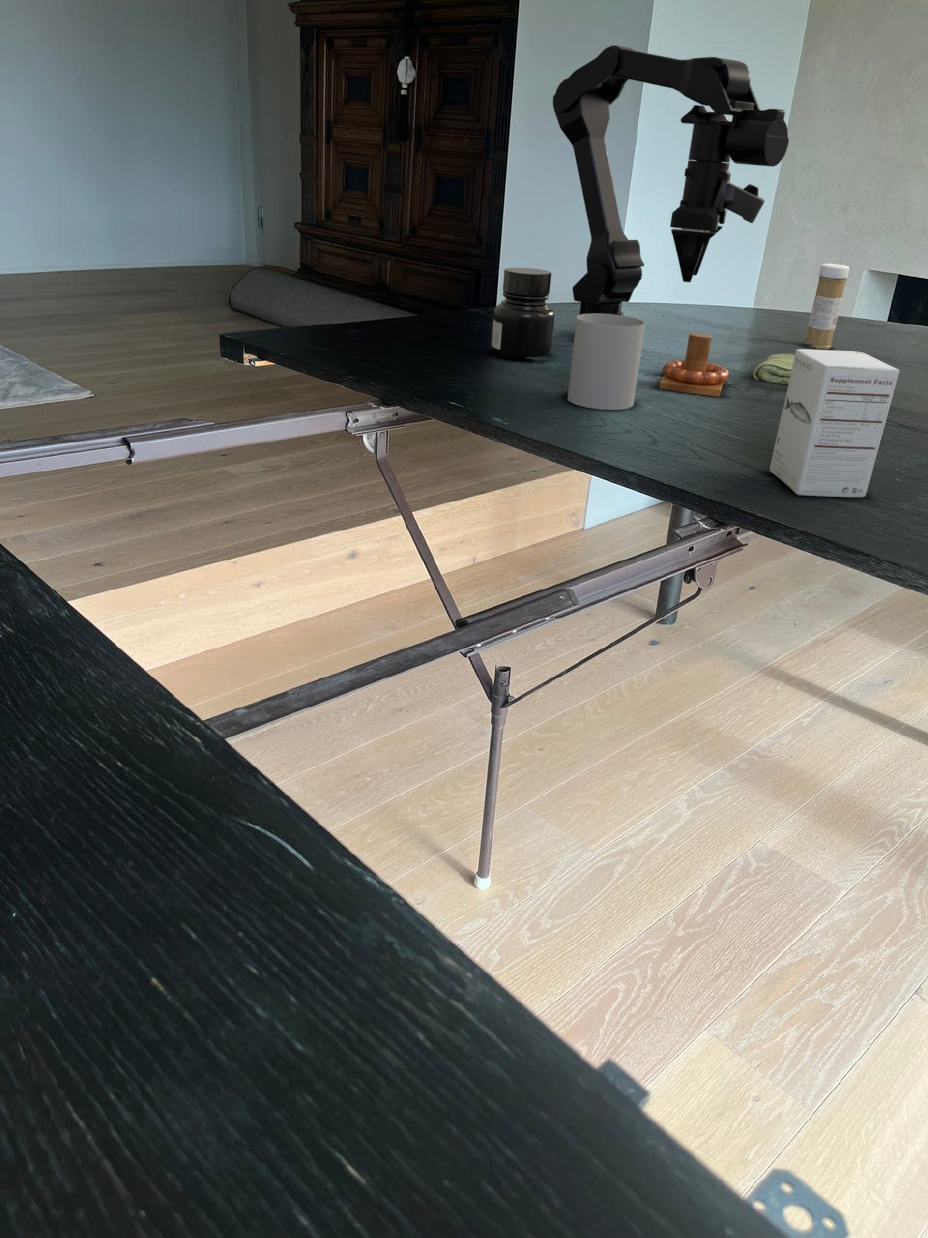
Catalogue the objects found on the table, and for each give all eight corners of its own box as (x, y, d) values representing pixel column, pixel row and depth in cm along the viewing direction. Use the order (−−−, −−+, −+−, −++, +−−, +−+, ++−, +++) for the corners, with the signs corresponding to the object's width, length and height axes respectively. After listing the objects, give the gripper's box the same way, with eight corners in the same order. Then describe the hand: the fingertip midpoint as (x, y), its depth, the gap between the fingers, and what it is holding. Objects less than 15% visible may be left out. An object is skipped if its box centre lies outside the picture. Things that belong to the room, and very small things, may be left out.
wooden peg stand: (659, 389, 129) (667, 335, 126) (666, 377, 136) (674, 326, 133) (719, 397, 127) (729, 343, 124) (723, 384, 134) (733, 333, 131)
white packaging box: (766, 471, 99) (793, 347, 93) (835, 474, 99) (866, 350, 94) (794, 496, 92) (825, 364, 86) (867, 498, 93) (903, 367, 87)
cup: (638, 398, 123) (650, 318, 119) (627, 413, 116) (639, 329, 112) (575, 389, 126) (584, 310, 121) (560, 403, 119) (569, 320, 114)
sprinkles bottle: (812, 343, 167) (831, 262, 161) (836, 349, 164) (855, 266, 158) (797, 346, 164) (815, 263, 158) (821, 351, 161) (840, 267, 155)
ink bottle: (506, 346, 148) (513, 264, 143) (559, 354, 145) (568, 271, 140) (480, 356, 141) (486, 270, 135) (535, 365, 137) (543, 277, 132)
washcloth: (881, 406, 128) (887, 382, 127) (748, 385, 134) (753, 361, 133) (888, 387, 139) (894, 365, 137) (765, 368, 145) (769, 347, 144)
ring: (658, 380, 129) (660, 368, 129) (666, 367, 137) (668, 356, 136) (724, 388, 127) (727, 376, 126) (729, 375, 135) (731, 364, 134)
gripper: (765, 166, 124) (742, 291, 132) (769, 165, 140) (748, 277, 148) (679, 160, 127) (661, 283, 134) (693, 159, 143) (676, 269, 150)
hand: (690, 278), depth 141 cm, fingers open, 9 cm apart
